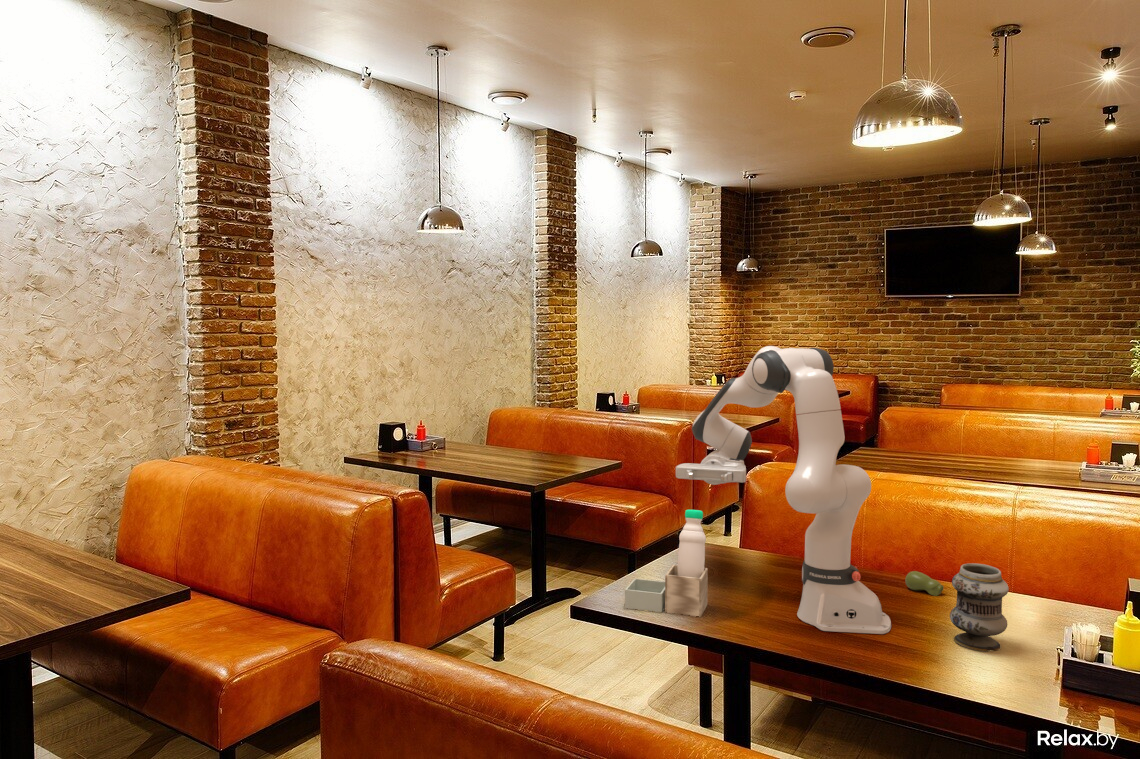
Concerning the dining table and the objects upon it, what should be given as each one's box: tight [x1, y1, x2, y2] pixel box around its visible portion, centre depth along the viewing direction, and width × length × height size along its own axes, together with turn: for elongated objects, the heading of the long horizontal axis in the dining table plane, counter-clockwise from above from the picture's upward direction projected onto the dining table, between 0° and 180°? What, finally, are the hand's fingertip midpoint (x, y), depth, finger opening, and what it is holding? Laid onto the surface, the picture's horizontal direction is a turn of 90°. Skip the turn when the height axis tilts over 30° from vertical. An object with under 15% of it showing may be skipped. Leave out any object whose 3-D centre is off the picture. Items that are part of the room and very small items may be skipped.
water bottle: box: [677, 509, 707, 578], centre depth 210 cm, size 7×7×25 cm
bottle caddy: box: [624, 577, 665, 613], centre depth 213 cm, size 10×10×5 cm
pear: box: [904, 570, 945, 597], centre depth 222 cm, size 6×5×10 cm
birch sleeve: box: [664, 564, 708, 618], centre depth 209 cm, size 9×9×10 cm
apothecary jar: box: [949, 562, 1010, 652], centre depth 186 cm, size 12×12×18 cm
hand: (706, 477), depth 224 cm, fingers open, 8 cm apart
